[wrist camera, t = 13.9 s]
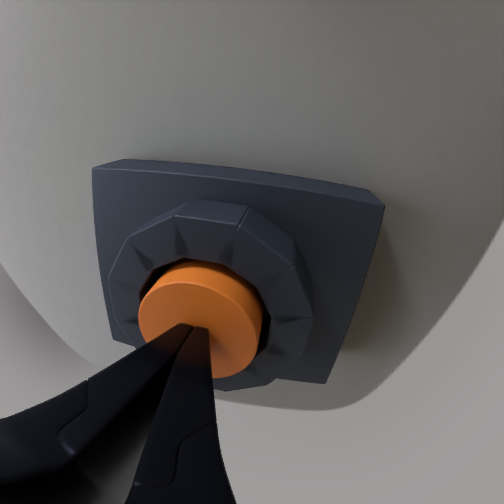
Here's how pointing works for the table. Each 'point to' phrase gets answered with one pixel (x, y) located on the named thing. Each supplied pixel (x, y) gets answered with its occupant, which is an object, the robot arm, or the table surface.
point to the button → (207, 311)
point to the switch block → (240, 252)
